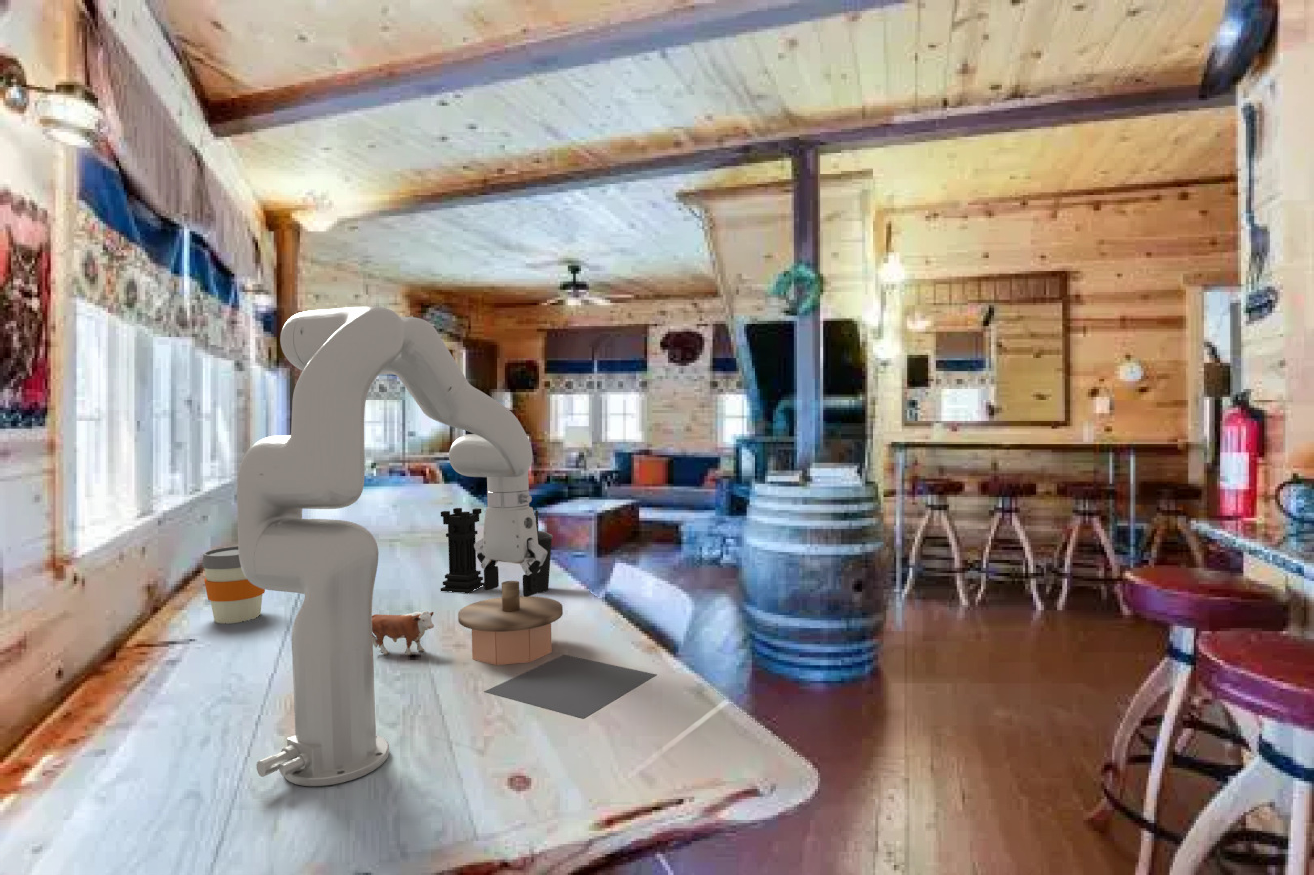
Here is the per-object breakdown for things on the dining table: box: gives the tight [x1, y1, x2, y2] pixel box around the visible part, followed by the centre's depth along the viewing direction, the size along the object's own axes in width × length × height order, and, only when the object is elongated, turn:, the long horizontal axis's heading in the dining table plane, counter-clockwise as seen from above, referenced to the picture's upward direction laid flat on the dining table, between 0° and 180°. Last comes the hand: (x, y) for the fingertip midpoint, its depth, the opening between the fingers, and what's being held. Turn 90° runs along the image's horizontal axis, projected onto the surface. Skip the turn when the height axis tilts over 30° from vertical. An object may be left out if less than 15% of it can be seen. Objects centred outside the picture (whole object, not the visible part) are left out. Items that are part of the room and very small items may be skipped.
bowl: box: [471, 623, 553, 666], centre depth 137 cm, size 14×14×7 cm
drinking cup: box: [528, 509, 554, 593], centre depth 183 cm, size 8×8×20 cm
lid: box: [457, 580, 564, 632], centre depth 137 cm, size 19×19×6 cm
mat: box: [483, 654, 658, 720], centre depth 120 cm, size 20×20×1 cm
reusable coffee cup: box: [201, 545, 266, 624], centre depth 163 cm, size 13×13×15 cm
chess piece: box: [440, 507, 484, 594], centre depth 186 cm, size 8×8×20 cm
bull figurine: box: [372, 610, 435, 656], centre depth 138 cm, size 4×13×8 cm, turn 78°
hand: (510, 591), depth 137 cm, fingers open, 9 cm apart
